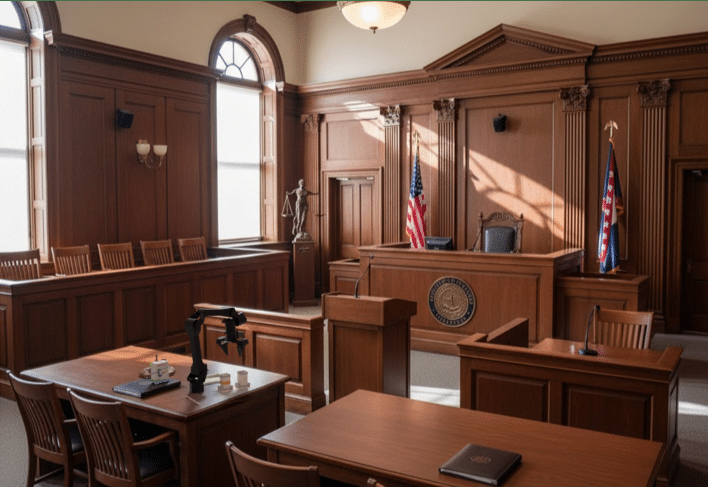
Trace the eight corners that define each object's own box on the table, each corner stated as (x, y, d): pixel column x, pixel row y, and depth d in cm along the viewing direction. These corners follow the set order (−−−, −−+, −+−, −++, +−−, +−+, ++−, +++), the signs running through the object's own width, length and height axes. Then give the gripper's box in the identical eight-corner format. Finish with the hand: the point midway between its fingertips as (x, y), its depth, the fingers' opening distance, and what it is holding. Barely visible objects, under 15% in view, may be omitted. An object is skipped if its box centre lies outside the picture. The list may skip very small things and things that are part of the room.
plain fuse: (240, 387, 352) (240, 373, 352) (237, 386, 355) (237, 371, 355) (247, 386, 355) (247, 371, 354) (244, 384, 358) (244, 370, 357)
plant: (174, 368, 399) (174, 350, 398) (175, 376, 380) (175, 357, 380) (139, 371, 393) (139, 352, 392) (139, 379, 374) (138, 360, 374)
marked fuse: (223, 390, 346) (223, 375, 346) (220, 389, 350) (219, 374, 349) (230, 389, 349) (230, 374, 348) (227, 387, 352) (227, 373, 352)
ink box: (163, 380, 371) (163, 359, 371) (169, 381, 368) (169, 360, 368) (150, 383, 364) (150, 362, 364) (156, 385, 361) (156, 363, 361)
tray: (204, 386, 358) (204, 383, 358) (193, 380, 370) (193, 377, 370) (230, 382, 367) (230, 378, 366) (218, 376, 379) (218, 373, 379)
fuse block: (221, 394, 343) (221, 388, 343) (214, 390, 351) (214, 385, 350) (253, 388, 354) (253, 383, 354) (245, 385, 361) (245, 379, 361)
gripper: (253, 325, 366) (256, 352, 368) (226, 323, 374) (229, 349, 377) (240, 331, 356) (243, 359, 359) (213, 329, 365) (217, 356, 367)
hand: (233, 356), depth 366 cm, fingers open, 9 cm apart
